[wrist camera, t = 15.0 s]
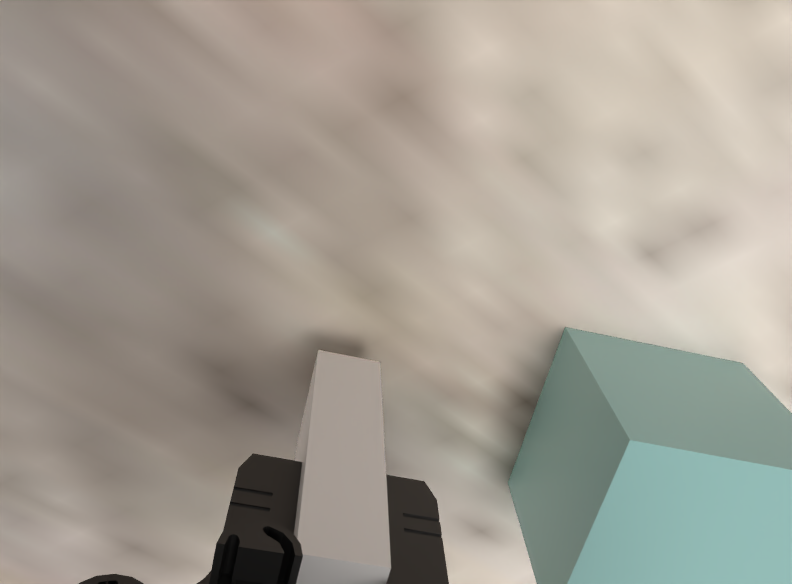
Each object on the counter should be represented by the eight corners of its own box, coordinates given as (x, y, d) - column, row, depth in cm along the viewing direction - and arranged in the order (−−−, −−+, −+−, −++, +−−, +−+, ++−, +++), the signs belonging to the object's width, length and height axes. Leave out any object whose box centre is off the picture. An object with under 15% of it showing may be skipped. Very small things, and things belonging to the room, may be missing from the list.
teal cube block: (507, 480, 21) (548, 625, 16) (564, 325, 19) (629, 439, 14) (670, 509, 21) (754, 655, 17) (741, 361, 19) (858, 482, 15)
